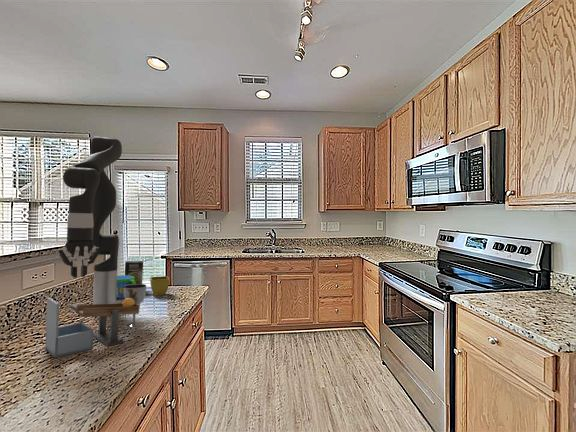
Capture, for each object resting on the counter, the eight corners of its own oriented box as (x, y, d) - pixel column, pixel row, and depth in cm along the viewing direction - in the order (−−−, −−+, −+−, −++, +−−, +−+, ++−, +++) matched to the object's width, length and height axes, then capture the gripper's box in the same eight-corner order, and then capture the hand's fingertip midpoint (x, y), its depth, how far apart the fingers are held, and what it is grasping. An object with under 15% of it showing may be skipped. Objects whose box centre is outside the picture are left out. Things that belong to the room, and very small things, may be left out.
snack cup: (142, 297, 172) (142, 277, 172) (124, 301, 162) (125, 280, 162) (120, 293, 178) (120, 274, 178) (102, 297, 168) (102, 277, 168)
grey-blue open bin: (45, 348, 106) (47, 297, 106) (81, 340, 113) (83, 292, 113) (55, 358, 99) (56, 304, 99) (92, 348, 107) (94, 298, 107)
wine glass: (136, 328, 126) (137, 288, 126) (117, 326, 127) (119, 287, 127) (149, 322, 134) (150, 284, 134) (131, 320, 135) (132, 283, 135)
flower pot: (150, 297, 172) (151, 279, 171) (149, 293, 179) (149, 276, 179) (169, 296, 176) (169, 278, 176) (166, 292, 183) (167, 275, 183)
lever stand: (92, 336, 117) (93, 304, 117) (107, 332, 121) (108, 302, 121) (107, 346, 109) (108, 312, 109) (123, 342, 112) (124, 309, 112)
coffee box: (123, 292, 179) (124, 262, 179) (124, 290, 185) (125, 260, 185) (142, 291, 183) (143, 262, 183) (142, 289, 189) (143, 260, 189)
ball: (119, 307, 119) (121, 296, 120) (130, 308, 122) (132, 297, 123) (123, 310, 117) (126, 298, 117) (135, 310, 120) (137, 299, 120)
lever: (67, 307, 115) (69, 298, 115) (121, 305, 129) (122, 297, 129) (82, 317, 106) (84, 307, 106) (138, 313, 119) (140, 305, 119)
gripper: (98, 225, 122) (96, 273, 122) (53, 225, 112) (51, 277, 112) (106, 226, 117) (104, 276, 117) (60, 227, 107) (58, 281, 107)
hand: (78, 276), depth 115 cm, fingers closed
